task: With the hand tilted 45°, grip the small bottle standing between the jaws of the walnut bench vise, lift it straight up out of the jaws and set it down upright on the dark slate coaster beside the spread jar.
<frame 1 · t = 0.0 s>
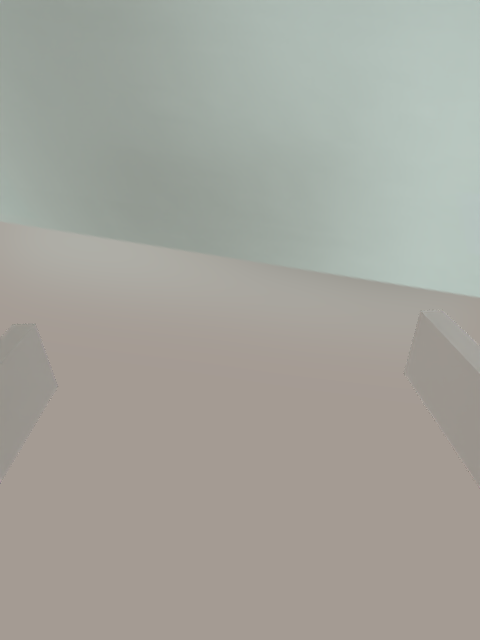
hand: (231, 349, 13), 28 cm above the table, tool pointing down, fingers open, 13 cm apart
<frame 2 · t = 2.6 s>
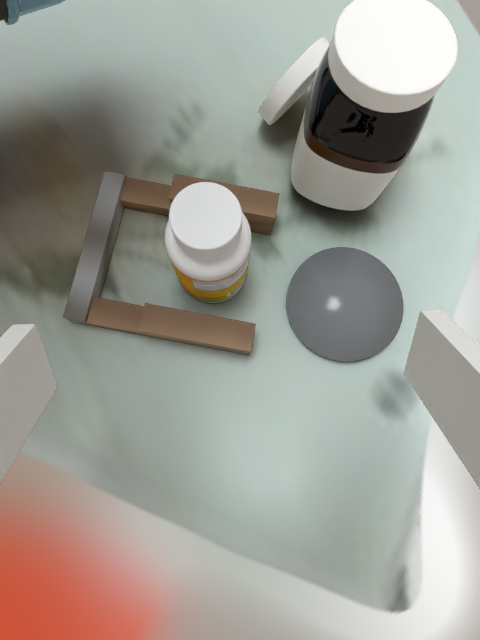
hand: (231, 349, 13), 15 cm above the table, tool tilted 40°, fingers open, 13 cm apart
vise: (212, 271, 29), on the table
pad: (342, 304, 29), on the table
supplement bottle: (212, 272, 29), on the table
spread jar: (317, 153, 32), on the table
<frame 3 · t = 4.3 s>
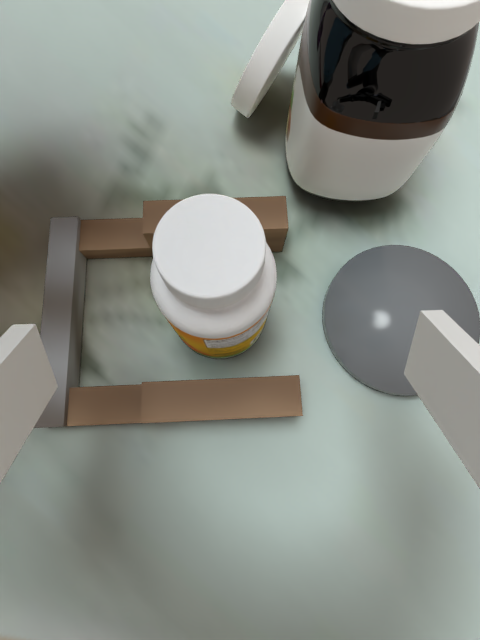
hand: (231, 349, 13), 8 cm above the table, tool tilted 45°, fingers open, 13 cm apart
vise: (220, 315, 22), on the table
pad: (396, 319, 22), on the table
supplement bottle: (220, 316, 22), on the table
spread jar: (312, 141, 25), on the table
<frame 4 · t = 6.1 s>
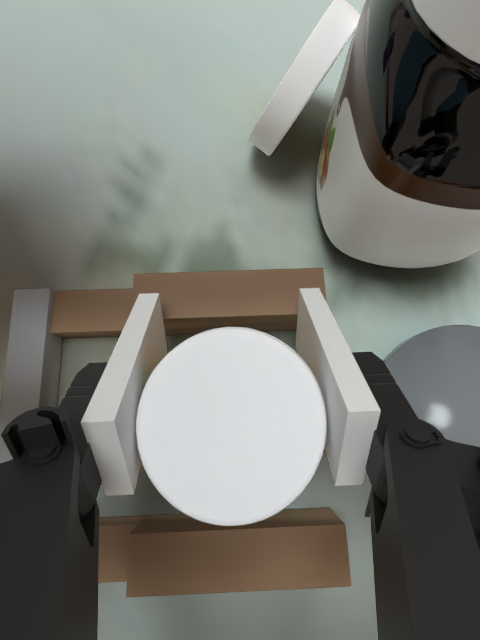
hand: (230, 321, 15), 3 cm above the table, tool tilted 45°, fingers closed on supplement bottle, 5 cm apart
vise: (234, 416, 17), on the table
pad: (463, 423, 17), on the table
supplement bottle: (234, 416, 17), on the table, touching gripper
spread jar: (347, 183, 20), on the table
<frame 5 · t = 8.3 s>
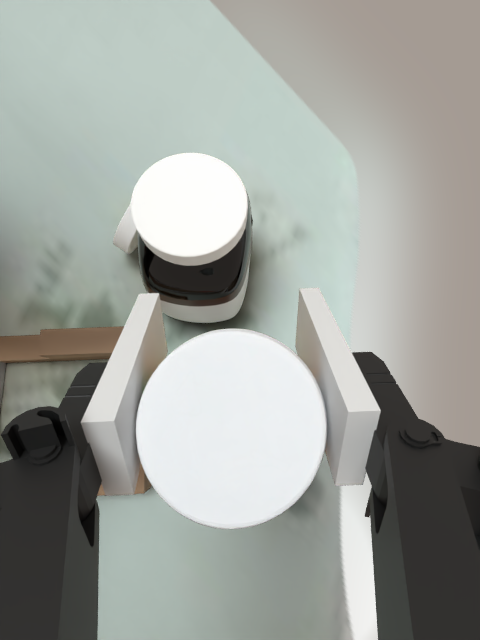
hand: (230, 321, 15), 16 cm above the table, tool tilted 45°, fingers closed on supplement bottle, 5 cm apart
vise: (103, 408, 29), on the table
supplement bottle: (234, 417, 17), point 13 cm above the table, touching gripper
spread jar: (186, 264, 33), on the table
when the fingers open (5 cm above the table, at t = 10.7 s): supplement bottle stays where it is, resting on pad.
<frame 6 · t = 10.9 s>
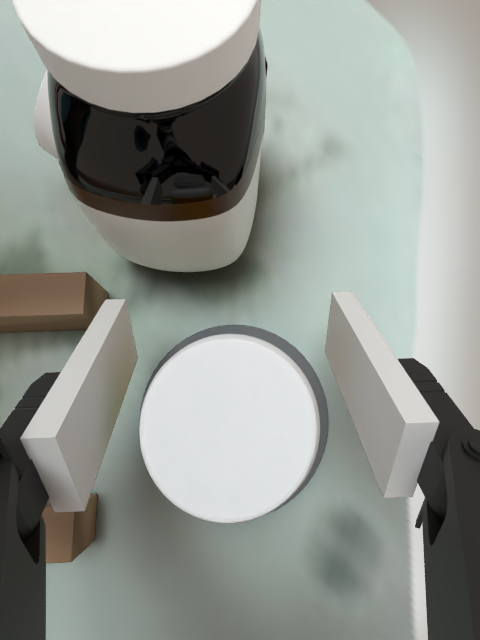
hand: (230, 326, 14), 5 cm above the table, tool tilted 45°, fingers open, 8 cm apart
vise: (21, 409, 18), on the table
pad: (234, 416, 18), on the table
supplement bottle: (232, 418, 18), point 1 cm above the table, touching pad
spread jar: (161, 191, 22), on the table
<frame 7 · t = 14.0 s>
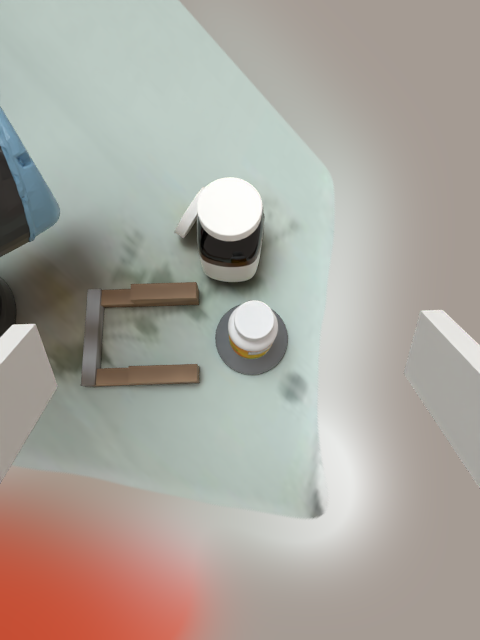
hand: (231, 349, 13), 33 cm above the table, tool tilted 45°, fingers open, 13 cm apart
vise: (167, 336, 46), on the table
pad: (251, 338, 46), on the table
supplement bottle: (250, 338, 46), point 1 cm above the table, touching pad
spread jar: (219, 246, 50), on the table
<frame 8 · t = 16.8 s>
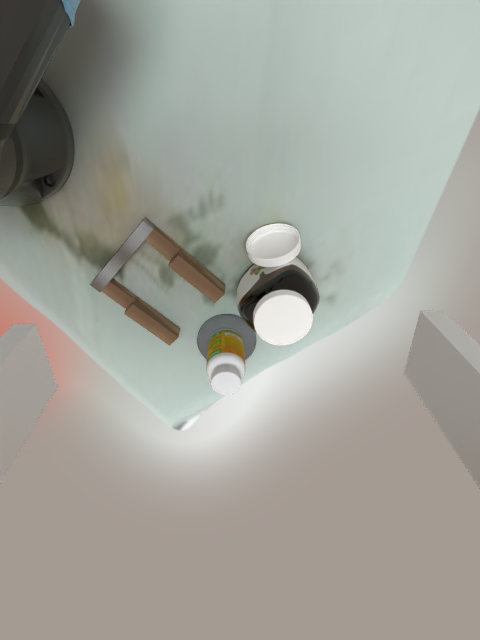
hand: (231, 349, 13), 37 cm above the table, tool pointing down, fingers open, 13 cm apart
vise: (175, 294, 52), on the table
pad: (226, 339, 57), on the table
supplement bottle: (225, 341, 56), point 1 cm above the table, touching pad
spread jar: (269, 265, 51), on the table
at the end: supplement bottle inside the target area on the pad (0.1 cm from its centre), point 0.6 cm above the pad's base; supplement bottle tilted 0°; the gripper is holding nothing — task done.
